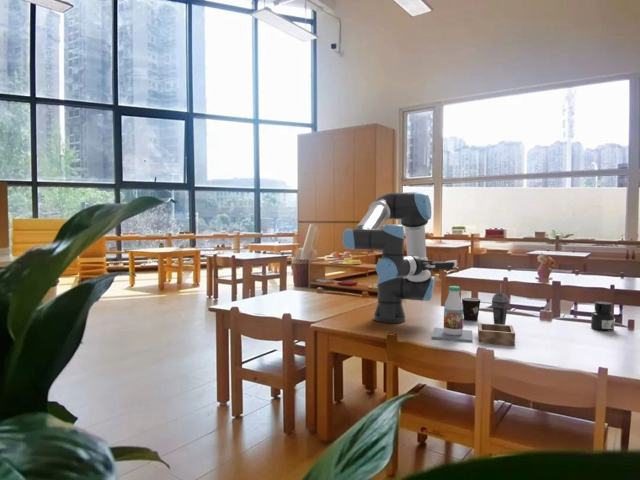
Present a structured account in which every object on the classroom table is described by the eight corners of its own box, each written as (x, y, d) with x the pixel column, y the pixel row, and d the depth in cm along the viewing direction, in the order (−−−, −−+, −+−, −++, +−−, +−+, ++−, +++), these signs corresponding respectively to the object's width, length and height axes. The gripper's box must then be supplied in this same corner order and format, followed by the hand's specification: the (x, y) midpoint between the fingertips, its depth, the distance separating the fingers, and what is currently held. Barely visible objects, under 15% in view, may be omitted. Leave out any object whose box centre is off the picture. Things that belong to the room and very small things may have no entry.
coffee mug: (477, 317, 232) (478, 297, 232) (481, 322, 224) (482, 301, 223) (453, 317, 234) (454, 297, 233) (456, 321, 225) (457, 300, 224)
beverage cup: (507, 325, 217) (508, 282, 216) (508, 329, 210) (509, 284, 209) (490, 324, 220) (492, 281, 218) (491, 327, 213) (492, 283, 212)
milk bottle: (440, 331, 201) (442, 285, 200) (458, 331, 202) (459, 285, 201) (447, 336, 194) (448, 288, 192) (465, 335, 194) (466, 288, 193)
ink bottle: (607, 332, 205) (608, 305, 204) (586, 328, 212) (587, 302, 212) (618, 329, 210) (619, 303, 210) (597, 325, 218) (598, 300, 217)
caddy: (478, 342, 188) (478, 330, 187) (477, 334, 201) (478, 323, 200) (514, 345, 184) (515, 333, 183) (511, 337, 196) (512, 325, 196)
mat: (431, 339, 193) (431, 336, 193) (434, 329, 208) (434, 327, 208) (472, 342, 188) (472, 340, 188) (472, 332, 203) (472, 330, 203)
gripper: (383, 272, 185) (415, 268, 199) (437, 279, 166) (469, 274, 181) (383, 253, 184) (415, 250, 199) (438, 258, 166) (469, 255, 180)
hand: (441, 262), depth 190 cm, fingers open, 13 cm apart
